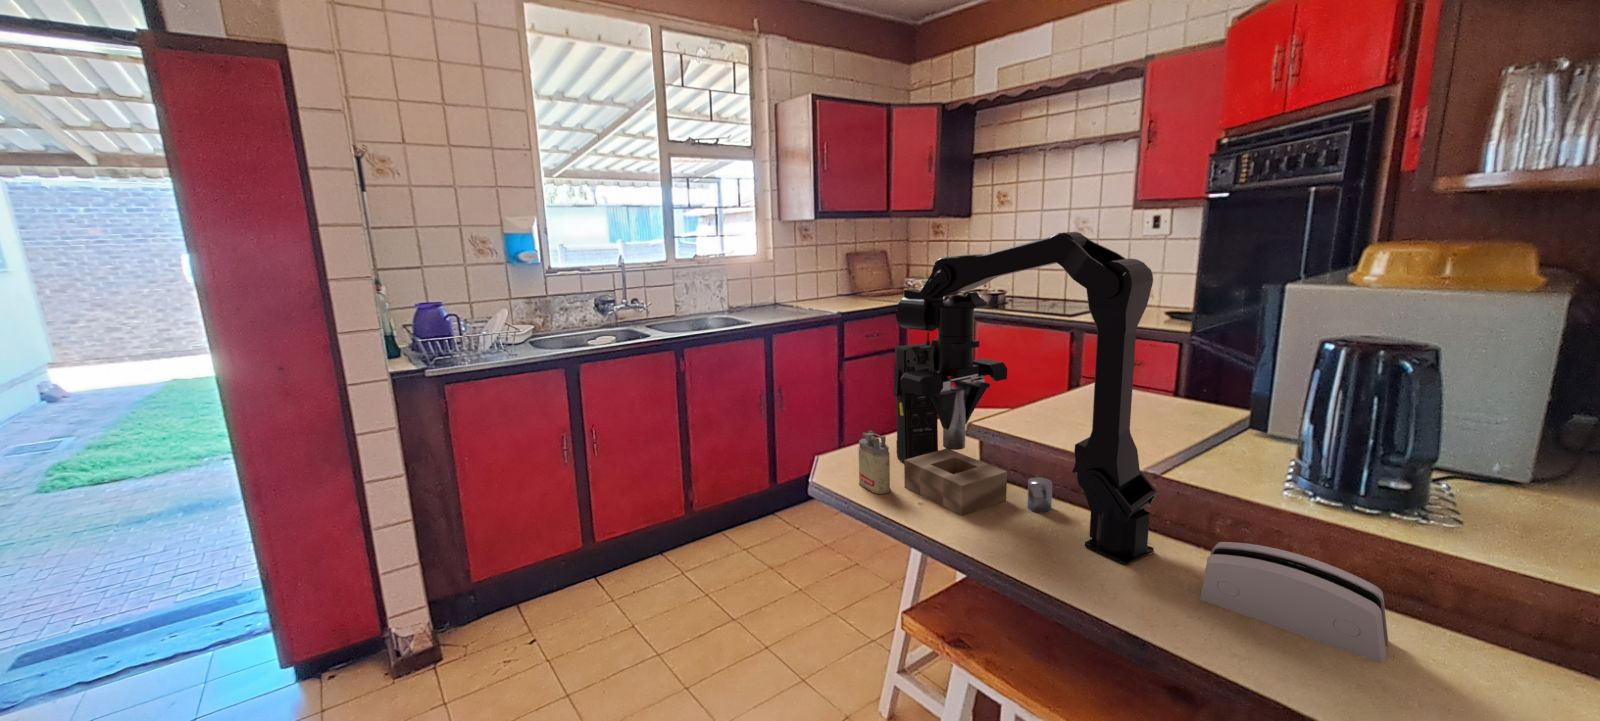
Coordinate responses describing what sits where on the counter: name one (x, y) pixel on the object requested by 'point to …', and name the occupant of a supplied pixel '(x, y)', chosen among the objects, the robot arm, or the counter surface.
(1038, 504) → the short pin
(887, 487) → the lighter
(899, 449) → the portable radio
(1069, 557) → the counter surface
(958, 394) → the tall pin
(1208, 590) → the grey curved block
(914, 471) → the block
